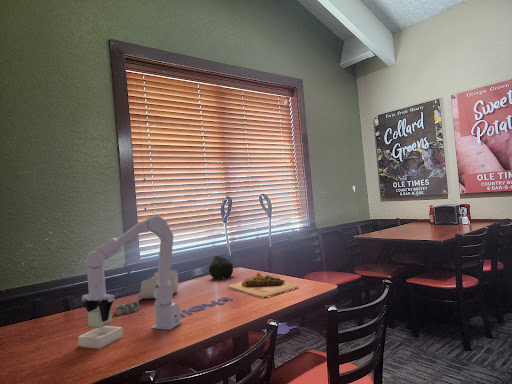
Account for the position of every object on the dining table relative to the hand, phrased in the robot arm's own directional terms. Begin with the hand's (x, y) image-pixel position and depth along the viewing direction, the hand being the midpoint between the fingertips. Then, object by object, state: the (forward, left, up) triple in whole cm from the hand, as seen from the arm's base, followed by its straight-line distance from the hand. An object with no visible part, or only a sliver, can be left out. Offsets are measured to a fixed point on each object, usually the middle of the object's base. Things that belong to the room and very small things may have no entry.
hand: (99, 320), depth 125 cm
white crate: (0, 0, -8) cm, 8 cm away
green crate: (0, 0, -2) cm, 2 cm away
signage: (-19, -42, -8) cm, 47 cm away
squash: (+4, -96, -8) cm, 96 cm away
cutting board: (-33, -75, -9) cm, 82 cm away
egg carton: (+18, -31, -8) cm, 37 cm away
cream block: (+20, -57, -8) cm, 61 cm away
